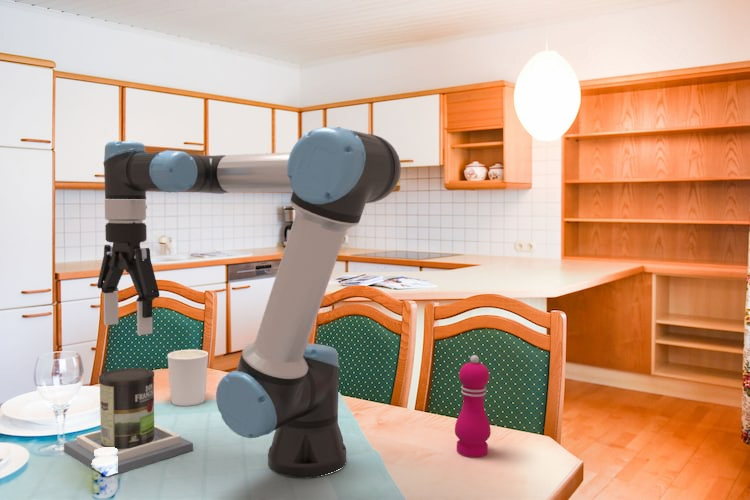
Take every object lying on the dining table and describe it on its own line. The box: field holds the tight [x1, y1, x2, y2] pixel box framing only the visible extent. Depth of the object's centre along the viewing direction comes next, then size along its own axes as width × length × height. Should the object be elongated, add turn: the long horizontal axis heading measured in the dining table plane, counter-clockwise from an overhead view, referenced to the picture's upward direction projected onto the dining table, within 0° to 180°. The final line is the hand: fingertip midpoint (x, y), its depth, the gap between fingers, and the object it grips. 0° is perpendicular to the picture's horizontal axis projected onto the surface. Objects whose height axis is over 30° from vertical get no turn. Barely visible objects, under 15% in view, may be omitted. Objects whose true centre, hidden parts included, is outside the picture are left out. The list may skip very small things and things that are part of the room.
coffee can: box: [98, 367, 155, 452], centre depth 131 cm, size 10×10×14 cm
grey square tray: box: [63, 423, 194, 475], centre depth 131 cm, size 18×18×3 cm
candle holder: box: [166, 349, 209, 407], centre depth 163 cm, size 10×10×12 cm
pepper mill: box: [454, 354, 492, 458], centre depth 133 cm, size 7×7×20 cm
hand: (127, 329), depth 129 cm, fingers open, 13 cm apart
